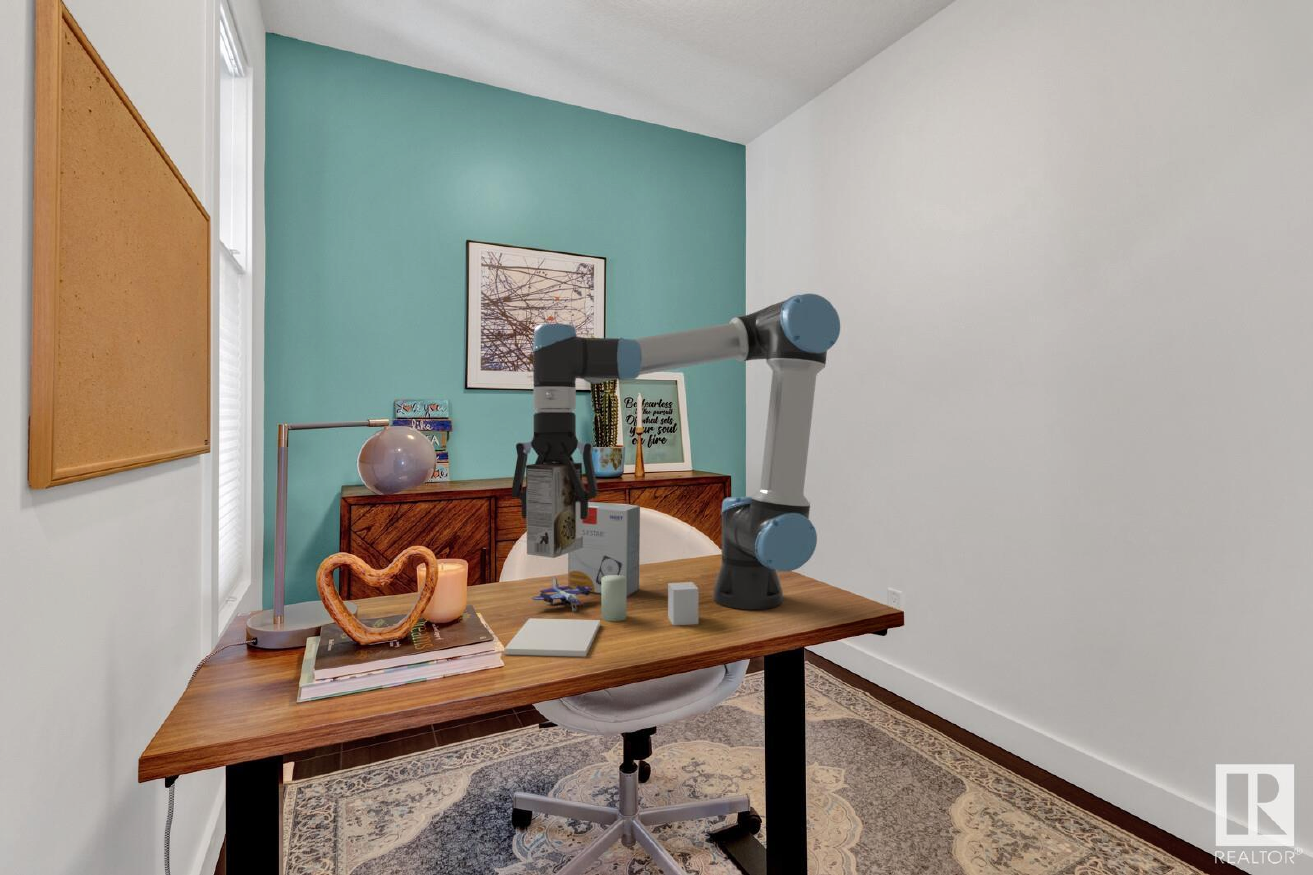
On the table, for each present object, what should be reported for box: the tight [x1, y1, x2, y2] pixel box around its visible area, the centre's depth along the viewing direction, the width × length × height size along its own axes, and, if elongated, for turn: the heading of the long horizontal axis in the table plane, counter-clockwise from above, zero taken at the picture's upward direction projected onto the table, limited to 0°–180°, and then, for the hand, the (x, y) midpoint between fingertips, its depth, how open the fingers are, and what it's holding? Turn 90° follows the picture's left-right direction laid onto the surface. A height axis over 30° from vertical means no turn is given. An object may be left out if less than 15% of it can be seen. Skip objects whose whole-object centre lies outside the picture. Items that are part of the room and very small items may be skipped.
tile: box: [504, 618, 601, 658], centre depth 115 cm, size 14×16×1 cm
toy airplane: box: [531, 577, 592, 613], centre depth 134 cm, size 13×14×4 cm
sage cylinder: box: [600, 575, 627, 622], centre depth 127 cm, size 5×5×8 cm
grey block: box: [667, 581, 700, 626], centre depth 126 cm, size 5×5×7 cm
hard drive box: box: [567, 501, 641, 598], centre depth 147 cm, size 16×8×20 cm, turn 67°
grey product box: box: [525, 462, 583, 559], centre depth 114 cm, size 9×6×16 cm
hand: (555, 536), depth 115 cm, fingers closed on grey product box, 8 cm apart
